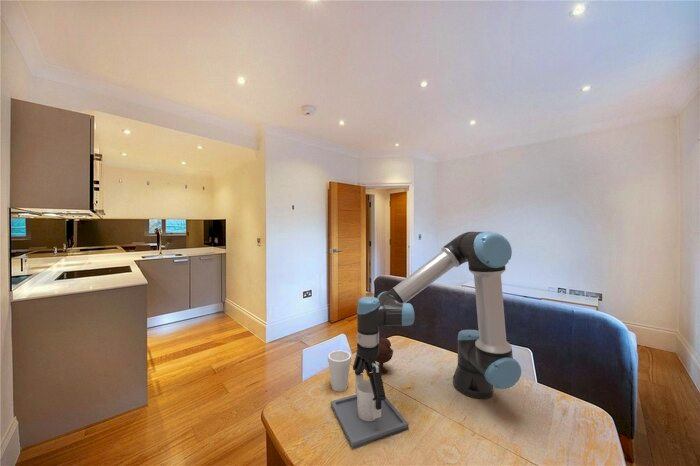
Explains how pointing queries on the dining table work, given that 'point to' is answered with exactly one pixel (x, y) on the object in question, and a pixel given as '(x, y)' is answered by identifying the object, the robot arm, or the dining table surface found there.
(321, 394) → the dining table surface
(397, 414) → the tray
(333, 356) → the foam cup
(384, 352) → the ice cream bowl
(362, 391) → the white cup
